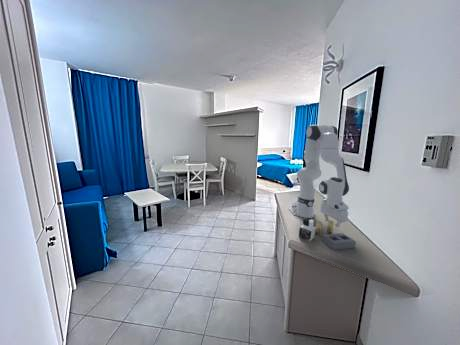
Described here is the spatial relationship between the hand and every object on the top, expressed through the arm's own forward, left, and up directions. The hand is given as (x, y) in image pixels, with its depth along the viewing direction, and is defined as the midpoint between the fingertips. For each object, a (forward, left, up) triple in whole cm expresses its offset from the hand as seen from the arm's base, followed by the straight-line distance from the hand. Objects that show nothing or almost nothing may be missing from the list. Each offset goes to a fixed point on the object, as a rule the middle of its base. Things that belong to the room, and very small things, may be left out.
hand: (331, 223), depth 131 cm
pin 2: (-1, 0, -7) cm, 7 cm away
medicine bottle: (+3, -20, -7) cm, 21 cm away
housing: (+13, -5, -7) cm, 15 cm away
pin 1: (-1, -9, -7) cm, 11 cm away
